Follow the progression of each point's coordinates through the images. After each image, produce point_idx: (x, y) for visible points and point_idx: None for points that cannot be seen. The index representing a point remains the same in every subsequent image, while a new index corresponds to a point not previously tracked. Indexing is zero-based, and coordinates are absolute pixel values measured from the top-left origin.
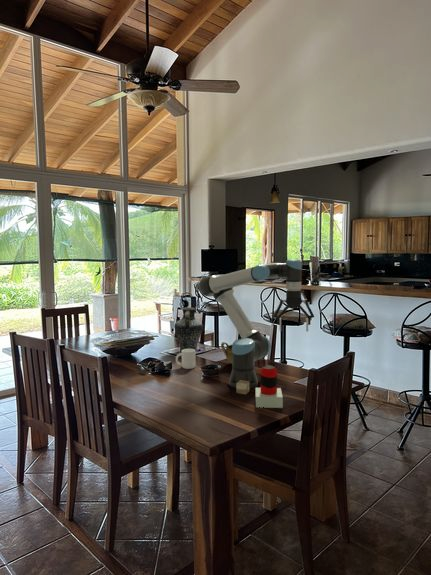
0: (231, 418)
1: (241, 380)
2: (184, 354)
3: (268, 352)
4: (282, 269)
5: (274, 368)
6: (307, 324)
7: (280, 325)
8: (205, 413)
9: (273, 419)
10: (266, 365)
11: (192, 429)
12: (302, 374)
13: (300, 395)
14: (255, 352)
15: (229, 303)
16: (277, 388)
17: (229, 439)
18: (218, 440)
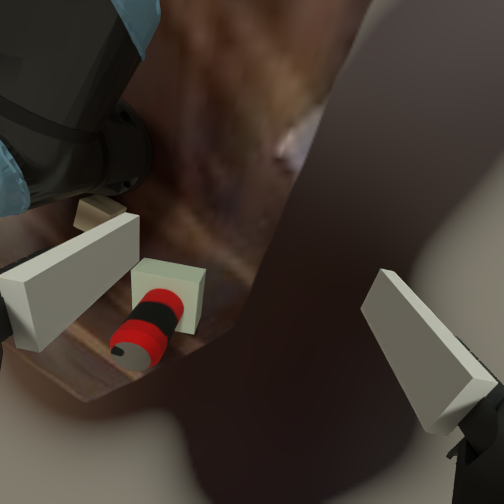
0: (100, 340)
1: (85, 202)
2: None
3: (151, 38)
4: None
5: (149, 366)
6: (396, 363)
7: (97, 291)
8: None
9: (175, 355)
10: (123, 342)
11: (44, 363)
12: (347, 44)
13: (260, 260)
14: (61, 170)
15: None
16: (190, 284)
17: (106, 393)
18: (92, 393)
